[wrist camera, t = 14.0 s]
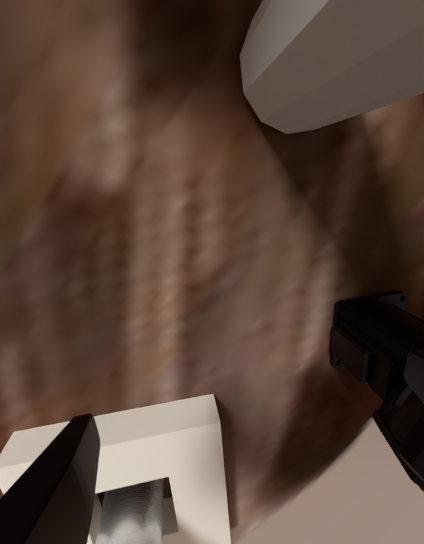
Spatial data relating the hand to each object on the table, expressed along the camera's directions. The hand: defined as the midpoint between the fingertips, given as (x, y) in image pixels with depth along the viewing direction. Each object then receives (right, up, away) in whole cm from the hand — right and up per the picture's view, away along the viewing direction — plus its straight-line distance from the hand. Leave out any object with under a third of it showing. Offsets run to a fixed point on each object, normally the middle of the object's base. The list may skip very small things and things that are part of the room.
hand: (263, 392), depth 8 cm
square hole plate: (-9, -16, +18) cm, 25 cm away
